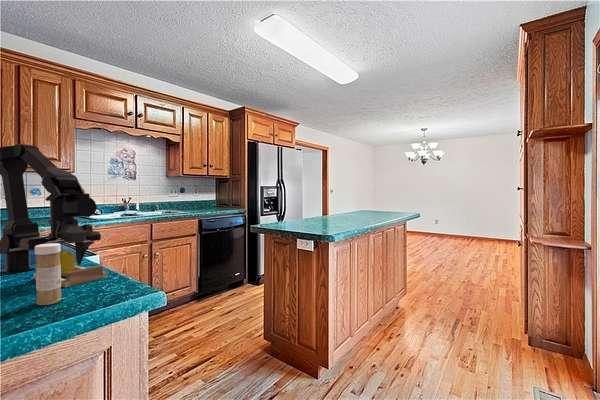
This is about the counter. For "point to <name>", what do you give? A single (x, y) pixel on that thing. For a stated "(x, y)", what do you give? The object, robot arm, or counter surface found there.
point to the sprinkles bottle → (48, 273)
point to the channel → (82, 275)
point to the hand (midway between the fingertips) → (64, 268)
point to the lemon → (67, 262)
